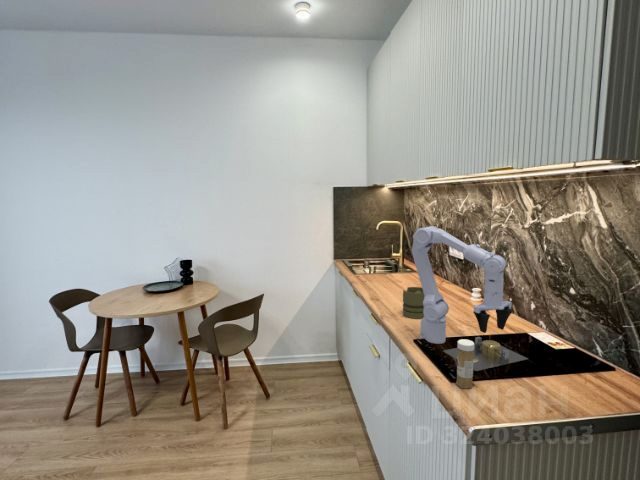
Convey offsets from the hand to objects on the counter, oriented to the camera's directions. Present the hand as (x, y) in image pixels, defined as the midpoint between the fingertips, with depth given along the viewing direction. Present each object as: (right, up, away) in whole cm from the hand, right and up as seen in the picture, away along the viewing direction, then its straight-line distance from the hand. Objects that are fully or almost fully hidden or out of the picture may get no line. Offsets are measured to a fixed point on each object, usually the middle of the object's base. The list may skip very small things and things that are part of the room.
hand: (491, 330), depth 125 cm
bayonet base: (-2, -9, 0) cm, 10 cm away
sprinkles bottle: (-16, -12, -17) cm, 27 cm away
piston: (-15, -4, +45) cm, 47 cm away
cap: (0, -8, +1) cm, 8 cm away
